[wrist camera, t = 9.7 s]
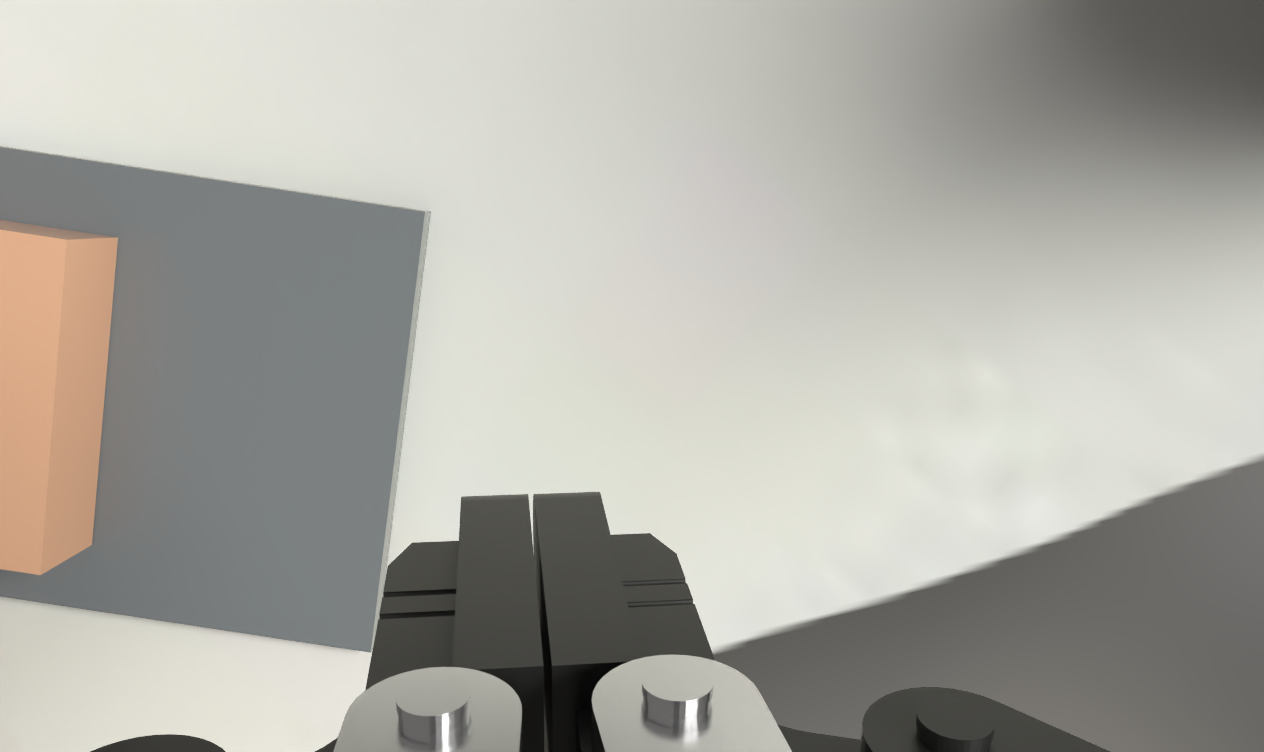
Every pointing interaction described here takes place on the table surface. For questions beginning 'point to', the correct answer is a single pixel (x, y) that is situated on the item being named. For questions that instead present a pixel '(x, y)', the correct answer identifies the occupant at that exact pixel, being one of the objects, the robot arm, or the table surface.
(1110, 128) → the table surface
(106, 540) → the slate board
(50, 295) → the terracotta brick
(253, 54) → the table surface
